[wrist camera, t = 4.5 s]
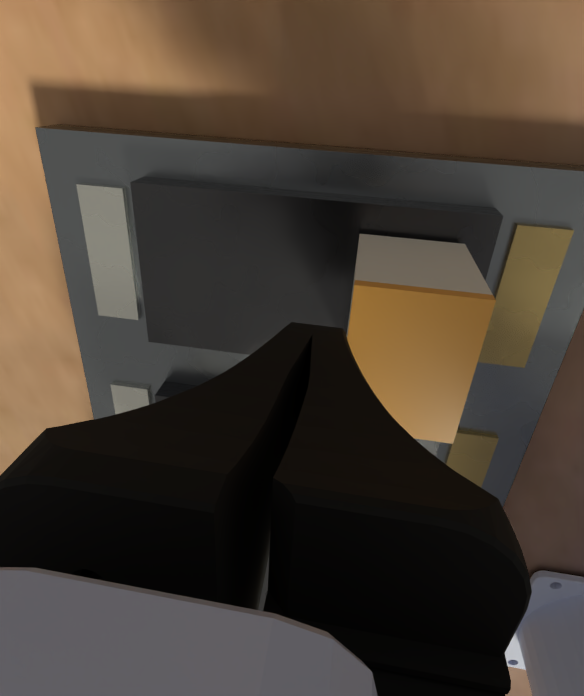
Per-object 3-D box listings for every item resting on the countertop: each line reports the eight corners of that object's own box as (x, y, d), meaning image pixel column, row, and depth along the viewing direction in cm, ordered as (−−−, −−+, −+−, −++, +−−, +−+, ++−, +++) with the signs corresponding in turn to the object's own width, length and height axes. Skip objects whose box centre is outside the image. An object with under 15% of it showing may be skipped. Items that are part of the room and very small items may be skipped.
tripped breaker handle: (464, 243, 13) (495, 300, 10) (435, 362, 15) (452, 443, 12) (359, 233, 14) (354, 284, 10) (344, 351, 16) (335, 427, 12)
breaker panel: (618, 168, 14) (778, 227, 8) (443, 622, 26) (462, 770, 20) (57, 124, 16) (-115, 148, 10) (136, 566, 28) (77, 688, 22)
